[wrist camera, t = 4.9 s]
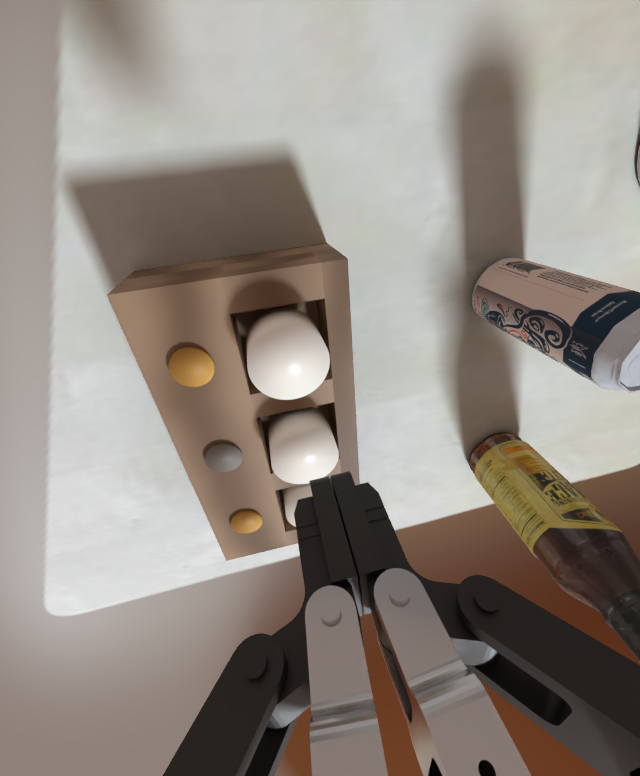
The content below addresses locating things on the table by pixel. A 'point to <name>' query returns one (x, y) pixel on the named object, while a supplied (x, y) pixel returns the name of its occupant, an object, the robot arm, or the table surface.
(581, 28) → the table surface
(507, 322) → the beer can
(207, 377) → the button board
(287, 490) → the button
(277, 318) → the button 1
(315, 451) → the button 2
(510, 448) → the sauce bottle
